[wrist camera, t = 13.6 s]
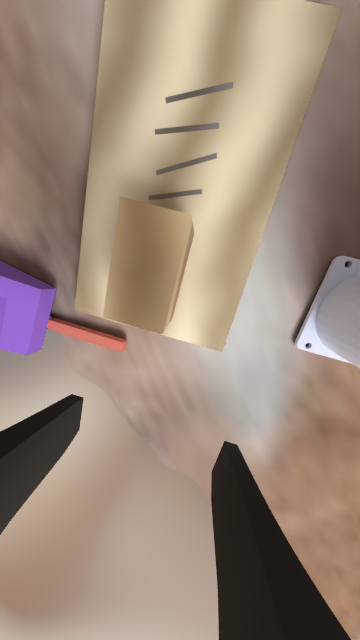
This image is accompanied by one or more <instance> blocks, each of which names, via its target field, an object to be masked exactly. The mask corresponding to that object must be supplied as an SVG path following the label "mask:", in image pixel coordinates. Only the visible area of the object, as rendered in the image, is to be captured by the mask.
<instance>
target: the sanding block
mask: <svg viewBox="0 0 360 640" xmlns="http://www.w3.org/2000/svg"><path fill="white" fill-rule="evenodd" d="M193 236H194V228H193V222H192V215H191V214H188V213H184V212H180V211H176V210H172V209H168V208H164V207H160V206H156V205H152V204H148V203H144V202H140V201H136V200H132V199H128V198H124V197H120V200H119V207H118V214H117V221H116V228H115V235H114V241H113V248H112V255H111V262H110V269H109V276H108V283H107V290H106V297H105V304H104V311H103V318H106V319H110V320H113V321H117V322H120V323H124V324H127V325H131V326H134V327H138V328H141V329H145V330H148V331H152V332H155V333H159V334H163V332H164V331H165V329H166V328H167V326H168V324H169V323H170V321H171V320H172V318H173V315H174V311H175V307H176V303H177V299H178V295H179V291H180V287H181V283H182V280H183V276H184V272H185V268H186V264H187V260H188V256H189V252H190V248H191V244H192V240H193Z"/></svg>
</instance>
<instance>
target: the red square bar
mask: <svg viewBox="0 0 360 640" xmlns="http://www.w3.org/2000/svg"><path fill="white" fill-rule="evenodd" d="M47 327H48V329H49V330H53V331H56V332H59V333H62V334H65V335H68V336H71V337H75V338H78V339H81V340H84V341H87V342H90V343H94V344H97V345H100V346H103V347H106V348H109V349H113V350H116V351H119V352H123V351H124V350H125V349H126V344H127V340H125V339H122V338H119V337H116V336H112V335H109V334H106V333H103V332H99V331H96V330H93V329H90V328H86V327H83V326H80V325H77V324H73V323H70V322H67V321H64V320H60V319H57V318H52V319H51V318H49V319H48V325H47Z"/></svg>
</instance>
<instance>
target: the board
mask: <svg viewBox="0 0 360 640" xmlns="http://www.w3.org/2000/svg"><path fill="white" fill-rule="evenodd" d="M341 11H342V8H341V7H336V6H331V5H326V4H321V3H316V2H310V1H305V0H105V5H104V15H103V25H102V35H101V45H100V56H99V66H98V76H97V86H96V96H95V106H94V117H93V127H92V137H91V147H90V157H89V167H88V178H87V188H86V198H85V208H84V218H83V228H82V239H81V249H80V259H79V269H78V279H77V289H76V300H75V310H77V311H80V312H84V313H87V314H91V315H94V316H98V317H101V318H103V311H104V304H105V297H106V290H107V283H108V276H109V269H110V262H111V255H112V248H113V241H114V235H115V228H116V221H117V214H118V207H119V200H120V197H124V198H128V199H132V200H136V201H140V202H144V203H148V204H152V205H156V206H160V207H164V208H168V209H172V210H176V211H180V212H184V213H188V214H191V215H192V222H193V228H194V236H193V240H192V244H191V248H190V252H189V256H188V260H187V264H186V268H185V272H184V276H183V280H182V283H181V287H180V291H179V295H178V299H177V303H176V307H175V311H174V315H173V318H172V320H171V321H170V323H169V324H168V326H167V328H166V329H165V331H164V332H163V334H161V335H164V336H168V337H171V338H175V339H178V340H182V341H185V342H189V343H192V344H196V345H199V346H203V347H207V348H210V349H214V350H217V351H221V352H222V350H223V347H224V344H225V342H226V339H227V336H228V333H229V330H230V327H231V324H232V322H233V319H234V316H235V313H236V310H237V307H238V304H239V302H240V299H241V296H242V293H243V290H244V287H245V285H246V282H247V279H248V276H249V273H250V270H251V267H252V265H253V262H254V259H255V256H256V253H257V250H258V247H259V245H260V242H261V239H262V236H263V233H264V230H265V227H266V225H267V222H268V219H269V216H270V213H271V210H272V208H273V205H274V202H275V199H276V196H277V193H278V190H279V188H280V185H281V182H282V179H283V176H284V173H285V170H286V168H287V165H288V162H289V159H290V156H291V153H292V151H293V148H294V145H295V142H296V139H297V136H298V133H299V131H300V128H301V125H302V122H303V119H304V116H305V113H306V111H307V108H308V105H309V102H310V99H311V96H312V94H313V91H314V88H315V85H316V82H317V79H318V76H319V74H320V71H321V68H322V65H323V62H324V59H325V56H326V54H327V51H328V48H329V45H330V42H331V39H332V37H333V34H334V31H335V28H336V25H337V22H338V19H339V17H340V14H341ZM105 319H106V318H105ZM108 320H110V319H108ZM112 321H113V320H112ZM115 322H117V321H115ZM119 323H120V322H119ZM122 324H124V323H122ZM126 325H127V324H126ZM129 326H131V325H129ZM133 327H134V326H133ZM136 328H138V327H136ZM140 329H141V328H140ZM143 330H145V329H143ZM147 331H148V330H147ZM150 332H152V331H150ZM154 333H155V332H154ZM157 334H159V333H157Z"/></svg>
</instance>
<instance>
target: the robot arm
mask: <svg viewBox="0 0 360 640" xmlns="http://www.w3.org/2000/svg"><path fill="white" fill-rule="evenodd" d="M346 261H347V262H348V266H347V267H345V262H346ZM307 343H309V345H308V346H307V347H305V345H306V344H307ZM295 346H296V347H297V348H299V349H301V350H305V351H308V352H312V353H316V354H319V355H323V356H326V357H330V358H334V359H337V360H341V361H344V362H348V363H351V364H353V365H355V366H357V367H358V368H360V260H359V259H355V258H351V257H347V256H338V257H335V258H334V259H333V261H332V263H331V265H330V267H329V269H328V271H327V273H326V276H325V278H324V280H323V282H322V284H321V286H320V288H319V291H318V293H317V295H316V297H315V299H314V301H313V304H312V306H311V308H310V310H309V312H308V314H307V316H306V319H305V321H304V323H303V325H302V327H301V329H300V332H299V334H298V336H297V338H296V340H295ZM82 404H83V397H79V396H76V395H73V394H71V395H70V396H68V397H66V398H64V399H62V400H60V401H58V402H57V403H55V404H53V405H51V406H49V407H47V408H45V409H44V410H42V411H40V412H38V413H36V414H34V415H32V416H30V417H28V418H26V419H24V420H23V421H21V422H19V423H17V424H15V425H13V426H11V427H9V428H7V429H5V430H3V431H1V432H0V534H1V533H2V532H3V530H4V529H5V527H6V526H7V525H8V523H9V522H10V521H11V519H12V518H13V517H14V515H15V514H16V512H17V511H18V510H19V509H20V508H21V506H22V505H23V504H24V503H25V501H26V500H27V499H28V498H29V496H30V495H31V494H32V493H33V491H34V490H35V489H36V488H37V486H38V485H39V484H40V482H41V481H42V480H43V479H44V478H45V476H46V475H47V474H48V473H49V471H50V470H51V469H52V468H53V466H54V465H55V464H56V462H57V461H58V460H59V459H60V457H61V456H62V455H63V453H64V452H65V451H66V449H67V448H68V446H69V445H70V443H71V441H72V440H73V439H74V437H75V435H76V434H77V432H78V431H79V427H80V420H81V412H82ZM211 501H212V515H213V528H214V542H215V555H216V568H217V582H218V610H219V611H218V612H219V640H351V639H350V637H349V636H348V634H347V633H346V632H345V630H344V629H343V627H342V626H341V624H340V623H339V621H338V620H337V618H336V617H335V615H334V614H333V612H332V611H331V609H330V608H329V606H328V605H327V603H326V602H325V600H324V599H323V597H322V596H321V594H320V592H319V591H318V589H317V588H316V586H315V585H314V583H313V581H312V580H311V578H310V577H309V575H308V573H307V572H306V570H305V569H304V567H303V565H302V564H301V562H300V561H299V559H298V557H297V556H296V554H295V552H294V551H293V549H292V547H291V546H290V544H289V542H288V540H287V539H286V537H285V535H284V533H283V532H282V530H281V528H280V526H279V525H278V523H277V521H276V519H275V518H274V516H273V514H272V512H271V510H270V508H269V507H268V505H267V503H266V501H265V499H264V497H263V495H262V493H261V491H260V490H259V488H258V486H257V484H256V482H255V480H254V478H253V476H252V474H251V472H250V470H249V468H248V466H247V464H246V462H245V460H244V458H243V456H242V454H241V452H240V450H239V448H238V446H237V445H236V444H233V443H229V442H226V441H224V444H223V446H222V448H221V451H220V453H219V456H218V458H217V460H216V463H215V465H214V468H213V470H212V491H211Z"/></svg>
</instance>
